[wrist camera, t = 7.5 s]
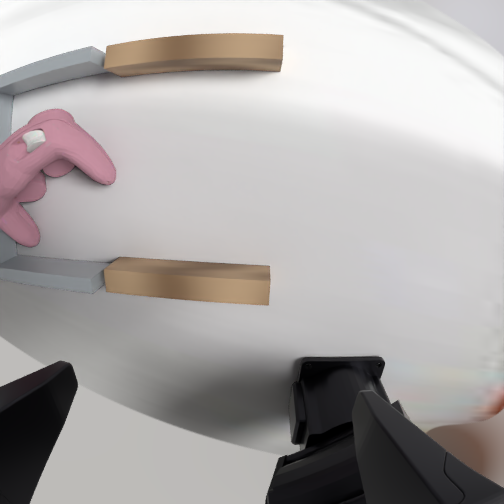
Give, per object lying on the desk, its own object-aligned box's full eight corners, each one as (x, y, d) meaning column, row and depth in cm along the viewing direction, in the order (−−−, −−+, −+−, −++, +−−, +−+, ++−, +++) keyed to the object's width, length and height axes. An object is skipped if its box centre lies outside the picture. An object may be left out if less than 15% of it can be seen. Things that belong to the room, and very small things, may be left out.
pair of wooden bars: (280, 49, 16) (283, 35, 14) (268, 287, 20) (268, 305, 18) (123, 56, 16) (106, 46, 14) (121, 277, 21) (106, 291, 18)
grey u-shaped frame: (113, 58, 16) (92, 46, 13) (112, 276, 21) (92, 293, 18) (7, 86, 16) (-17, 82, 14) (12, 265, 21) (-11, 277, 18)
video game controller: (112, 130, 19) (43, 83, 12) (126, 181, 18) (44, 138, 11) (28, 203, 21) (-38, 182, 14) (35, 253, 20) (-39, 239, 13)
